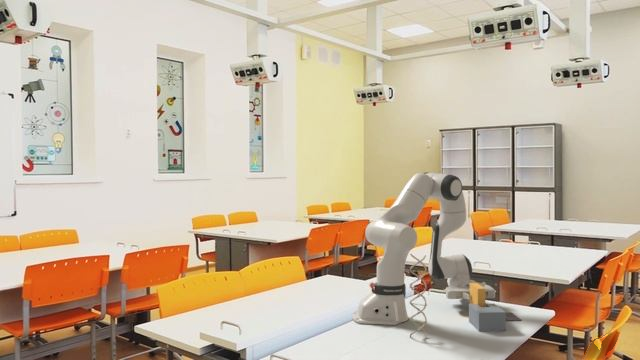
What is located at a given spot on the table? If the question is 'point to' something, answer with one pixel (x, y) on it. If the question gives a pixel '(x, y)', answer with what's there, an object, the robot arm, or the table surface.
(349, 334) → the table surface
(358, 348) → the table surface
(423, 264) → the dna model
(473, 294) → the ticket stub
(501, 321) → the box
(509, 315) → the mat
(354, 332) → the table surface
